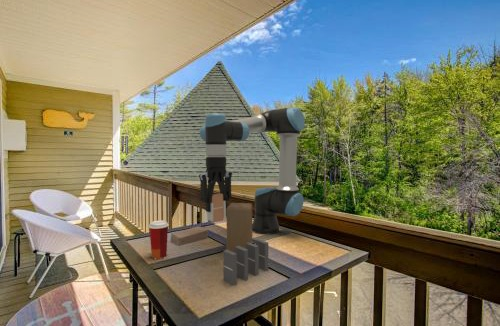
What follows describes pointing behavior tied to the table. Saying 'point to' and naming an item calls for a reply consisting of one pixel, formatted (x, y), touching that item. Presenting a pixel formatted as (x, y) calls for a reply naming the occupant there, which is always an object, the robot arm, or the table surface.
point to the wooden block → (239, 225)
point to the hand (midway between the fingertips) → (216, 218)
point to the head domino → (217, 207)
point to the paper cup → (158, 238)
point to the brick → (189, 235)
